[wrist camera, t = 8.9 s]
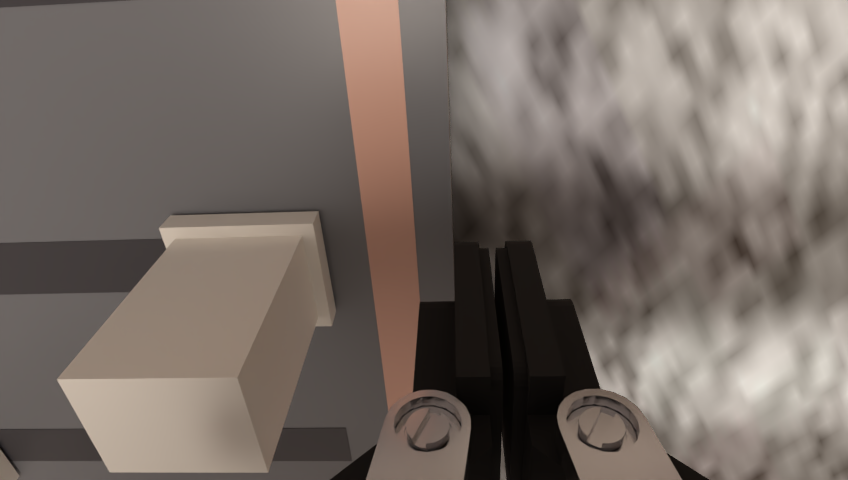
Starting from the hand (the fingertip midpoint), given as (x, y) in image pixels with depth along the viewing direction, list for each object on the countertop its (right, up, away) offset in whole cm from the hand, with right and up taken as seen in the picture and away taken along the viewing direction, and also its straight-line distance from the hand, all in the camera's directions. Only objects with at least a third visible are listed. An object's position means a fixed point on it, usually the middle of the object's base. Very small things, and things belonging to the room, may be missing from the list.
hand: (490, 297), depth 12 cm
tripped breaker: (-6, +1, +2) cm, 6 cm away
